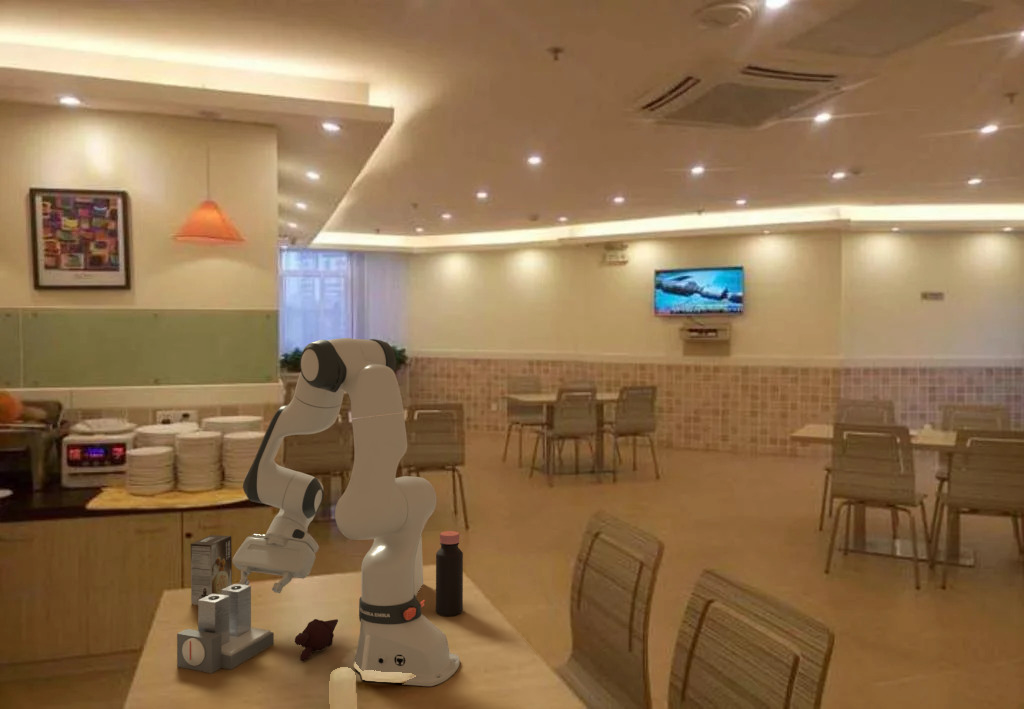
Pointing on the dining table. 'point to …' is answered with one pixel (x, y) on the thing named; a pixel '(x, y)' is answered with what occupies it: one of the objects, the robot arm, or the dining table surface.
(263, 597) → the dining table surface
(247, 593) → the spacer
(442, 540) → the bottle
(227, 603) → the post
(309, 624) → the icecream
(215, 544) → the coffee box
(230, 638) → the scale
